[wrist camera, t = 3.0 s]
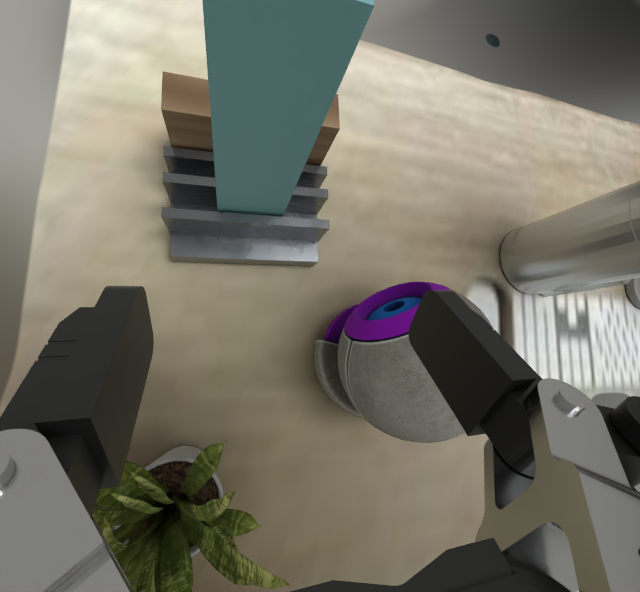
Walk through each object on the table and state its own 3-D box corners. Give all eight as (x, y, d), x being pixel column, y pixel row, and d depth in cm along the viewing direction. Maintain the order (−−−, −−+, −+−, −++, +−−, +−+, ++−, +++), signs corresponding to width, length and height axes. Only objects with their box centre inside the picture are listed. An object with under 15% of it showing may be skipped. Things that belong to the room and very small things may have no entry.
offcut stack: (310, 183, 33) (339, 128, 25) (178, 169, 30) (158, 98, 21) (309, 157, 34) (337, 94, 25) (178, 140, 30) (160, 59, 22)
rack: (313, 266, 34) (330, 250, 29) (173, 261, 30) (160, 242, 25) (309, 148, 36) (324, 111, 31) (177, 129, 32) (166, 83, 27)
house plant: (29, 488, 25) (-298, 727, 9) (170, 357, 29) (105, 372, 14) (164, 599, 26) (74, 967, 11) (280, 459, 30) (335, 578, 15)
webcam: (387, 278, 37) (489, 237, 22) (440, 374, 37) (575, 392, 23) (292, 335, 33) (343, 328, 18) (353, 442, 33) (450, 517, 18)
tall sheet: (277, 229, 32) (374, 5, 11) (218, 225, 30) (199, -46, 9) (276, 214, 32) (371, -34, 11) (218, 209, 30) (200, -91, 9)
